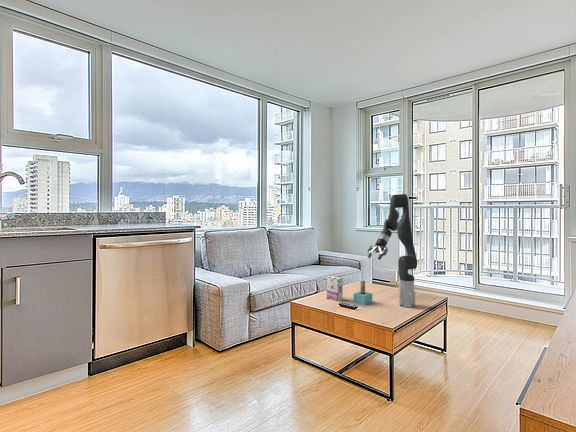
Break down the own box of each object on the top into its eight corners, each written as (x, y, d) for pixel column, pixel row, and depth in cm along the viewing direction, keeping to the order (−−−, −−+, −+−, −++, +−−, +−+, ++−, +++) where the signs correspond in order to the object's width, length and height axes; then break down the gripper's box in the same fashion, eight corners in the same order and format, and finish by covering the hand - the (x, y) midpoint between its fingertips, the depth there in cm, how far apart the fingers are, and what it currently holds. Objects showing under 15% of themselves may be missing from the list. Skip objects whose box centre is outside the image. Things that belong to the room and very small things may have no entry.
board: (378, 304, 226) (378, 302, 226) (365, 309, 215) (365, 307, 215) (361, 299, 236) (361, 298, 236) (347, 304, 225) (347, 302, 225)
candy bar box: (342, 301, 232) (343, 278, 231) (337, 302, 229) (337, 279, 228) (331, 297, 241) (331, 275, 240) (326, 299, 238) (326, 276, 237)
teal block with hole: (372, 302, 226) (372, 293, 226) (364, 305, 220) (364, 296, 220) (361, 299, 233) (361, 290, 233) (353, 302, 227) (353, 293, 227)
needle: (366, 302, 227) (365, 281, 226) (363, 303, 225) (363, 282, 224) (362, 301, 229) (362, 280, 228) (359, 302, 227) (359, 281, 226)
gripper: (372, 237, 252) (363, 254, 245) (389, 238, 241) (380, 256, 234) (376, 243, 256) (367, 260, 248) (393, 245, 245) (384, 262, 238)
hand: (373, 258), depth 241 cm, fingers open, 8 cm apart
